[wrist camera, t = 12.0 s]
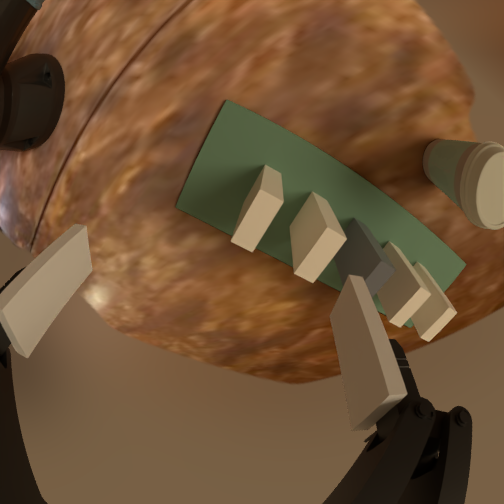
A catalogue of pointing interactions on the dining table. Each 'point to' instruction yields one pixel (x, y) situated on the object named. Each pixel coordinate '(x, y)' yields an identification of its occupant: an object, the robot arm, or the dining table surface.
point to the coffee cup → (469, 178)
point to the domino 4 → (431, 307)
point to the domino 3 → (401, 288)
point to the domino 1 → (259, 209)
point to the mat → (301, 194)
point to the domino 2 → (314, 237)
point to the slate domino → (363, 258)
